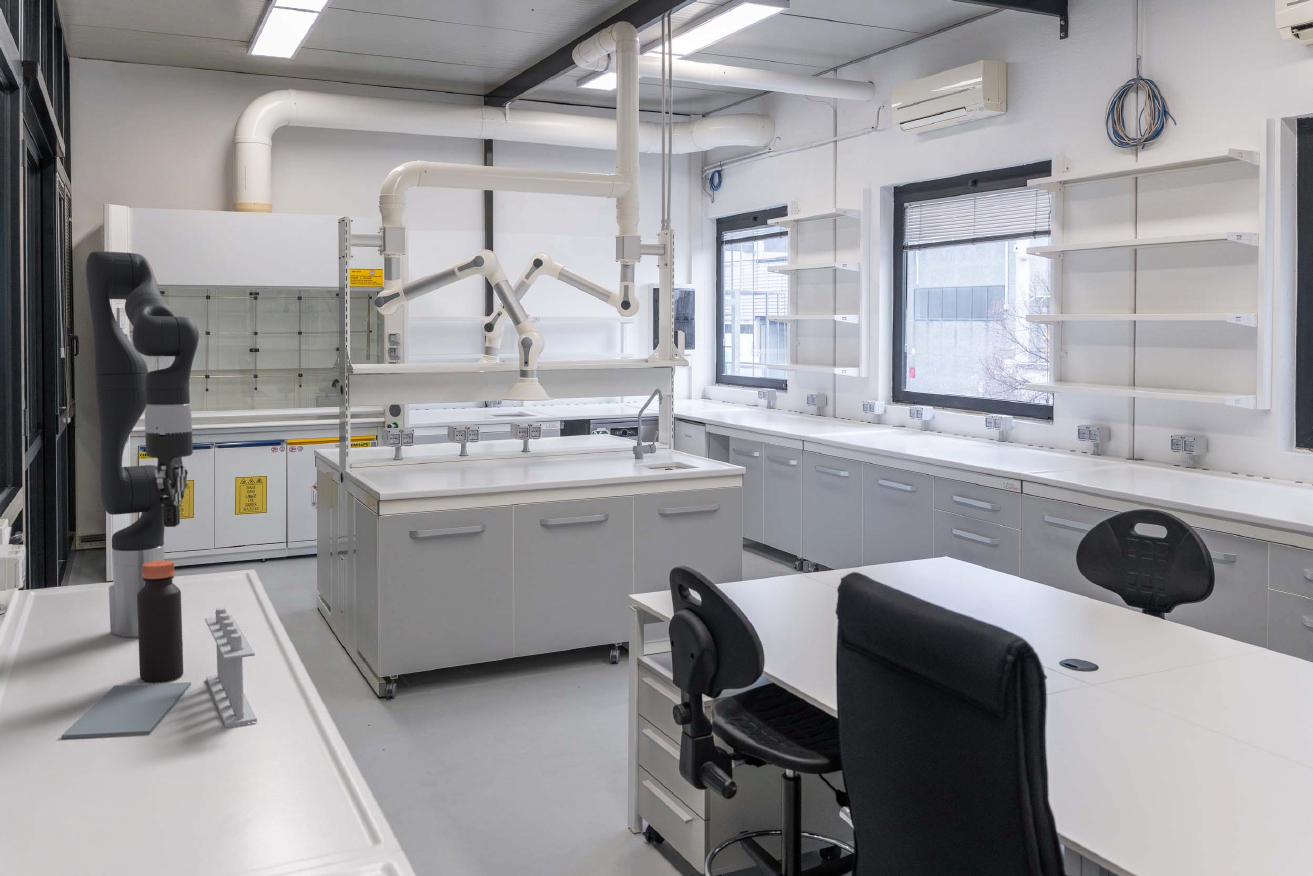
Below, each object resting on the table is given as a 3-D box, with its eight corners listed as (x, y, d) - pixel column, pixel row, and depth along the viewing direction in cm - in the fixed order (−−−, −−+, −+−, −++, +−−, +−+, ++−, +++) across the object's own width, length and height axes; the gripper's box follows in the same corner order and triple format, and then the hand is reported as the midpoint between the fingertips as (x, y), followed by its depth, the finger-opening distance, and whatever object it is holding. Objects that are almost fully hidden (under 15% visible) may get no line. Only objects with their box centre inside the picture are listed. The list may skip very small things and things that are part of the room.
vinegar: (149, 671, 179) (146, 559, 177) (189, 670, 179) (186, 559, 177) (132, 684, 172) (128, 567, 170) (174, 683, 172) (170, 567, 171)
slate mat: (114, 688, 170) (114, 685, 170) (190, 685, 172) (190, 682, 172) (61, 738, 148) (61, 735, 148) (149, 734, 150) (149, 730, 150)
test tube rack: (257, 723, 155) (255, 639, 154) (226, 729, 153) (223, 643, 152) (234, 676, 177) (231, 602, 176) (206, 680, 175) (204, 605, 173)
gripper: (157, 426, 186) (161, 520, 188) (133, 432, 173) (137, 533, 175) (201, 426, 187) (204, 519, 189) (180, 432, 174) (183, 532, 176)
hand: (171, 525), depth 182 cm, fingers closed
